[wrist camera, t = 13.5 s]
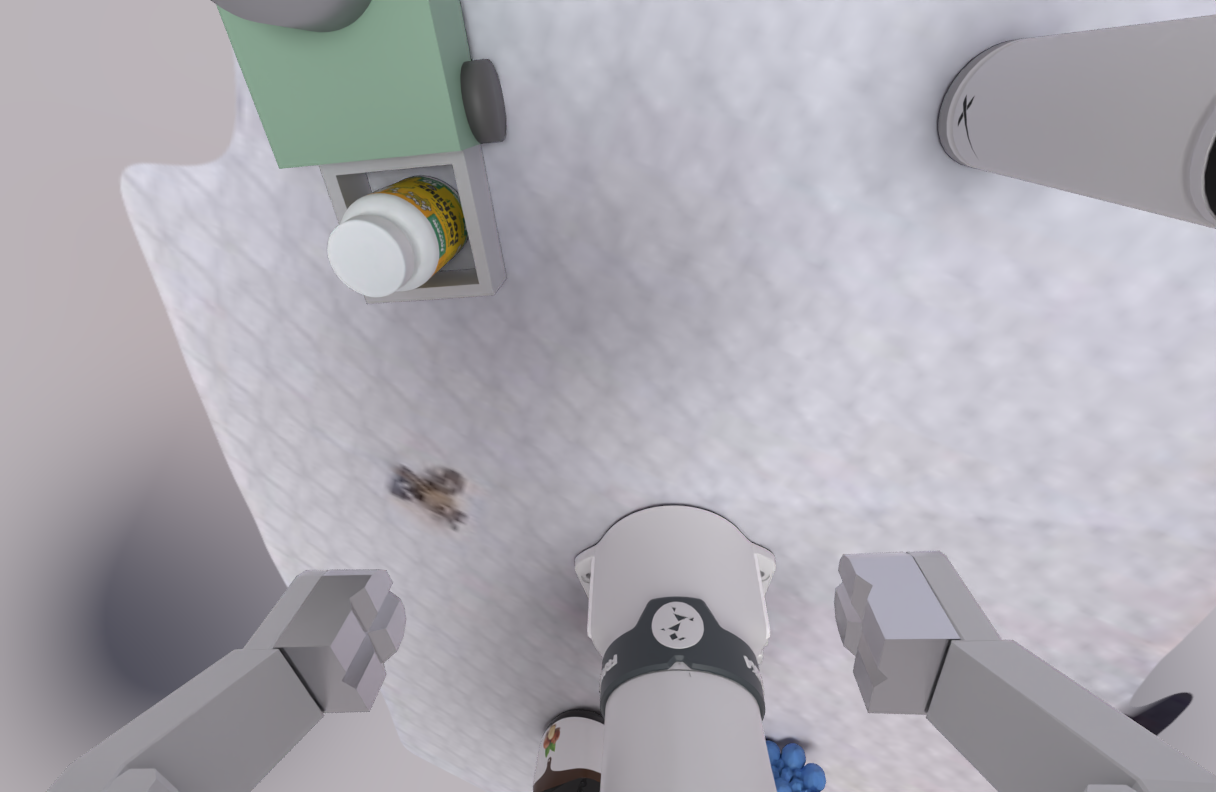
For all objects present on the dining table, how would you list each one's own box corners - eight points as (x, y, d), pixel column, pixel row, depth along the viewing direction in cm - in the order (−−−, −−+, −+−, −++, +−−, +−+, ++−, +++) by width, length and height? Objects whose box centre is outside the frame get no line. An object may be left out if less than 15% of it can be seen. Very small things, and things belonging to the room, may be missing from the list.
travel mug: (907, 132, 30) (1253, 194, 13) (1008, 12, 27) (1638, -117, 10) (981, 193, 31) (1382, 322, 14) (1084, 85, 28) (1755, 86, 11)
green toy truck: (533, 276, 36) (498, 335, 27) (364, 288, 37) (279, 348, 29) (454, -191, 24) (350, -341, 16) (213, -151, 26) (-4, -269, 17)
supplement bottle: (375, 200, 34) (288, 237, 26) (437, 157, 32) (367, 181, 24) (427, 271, 36) (363, 326, 28) (488, 234, 35) (439, 280, 26)
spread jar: (590, 697, 63) (580, 813, 53) (650, 737, 67) (651, 852, 57) (523, 727, 67) (502, 839, 57) (583, 763, 71) (572, 873, 61)
